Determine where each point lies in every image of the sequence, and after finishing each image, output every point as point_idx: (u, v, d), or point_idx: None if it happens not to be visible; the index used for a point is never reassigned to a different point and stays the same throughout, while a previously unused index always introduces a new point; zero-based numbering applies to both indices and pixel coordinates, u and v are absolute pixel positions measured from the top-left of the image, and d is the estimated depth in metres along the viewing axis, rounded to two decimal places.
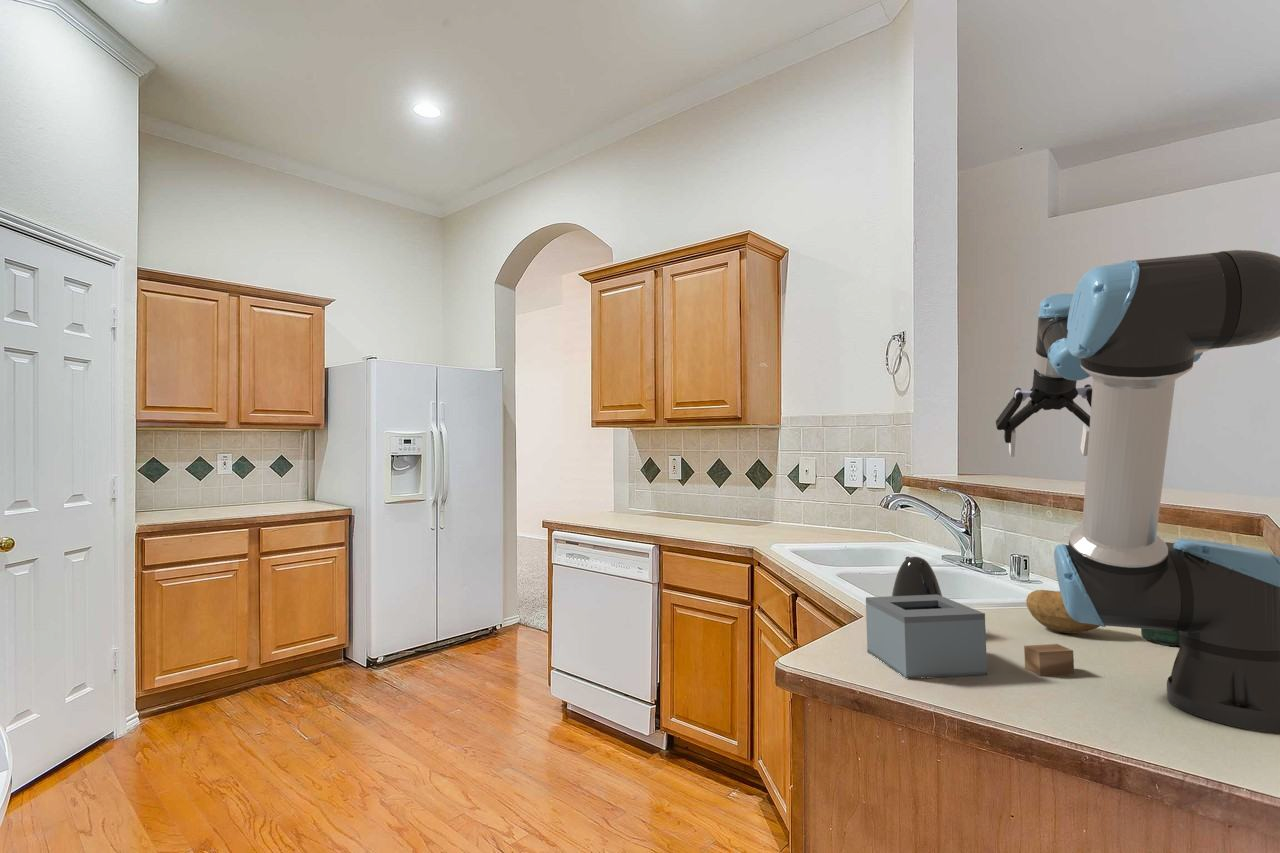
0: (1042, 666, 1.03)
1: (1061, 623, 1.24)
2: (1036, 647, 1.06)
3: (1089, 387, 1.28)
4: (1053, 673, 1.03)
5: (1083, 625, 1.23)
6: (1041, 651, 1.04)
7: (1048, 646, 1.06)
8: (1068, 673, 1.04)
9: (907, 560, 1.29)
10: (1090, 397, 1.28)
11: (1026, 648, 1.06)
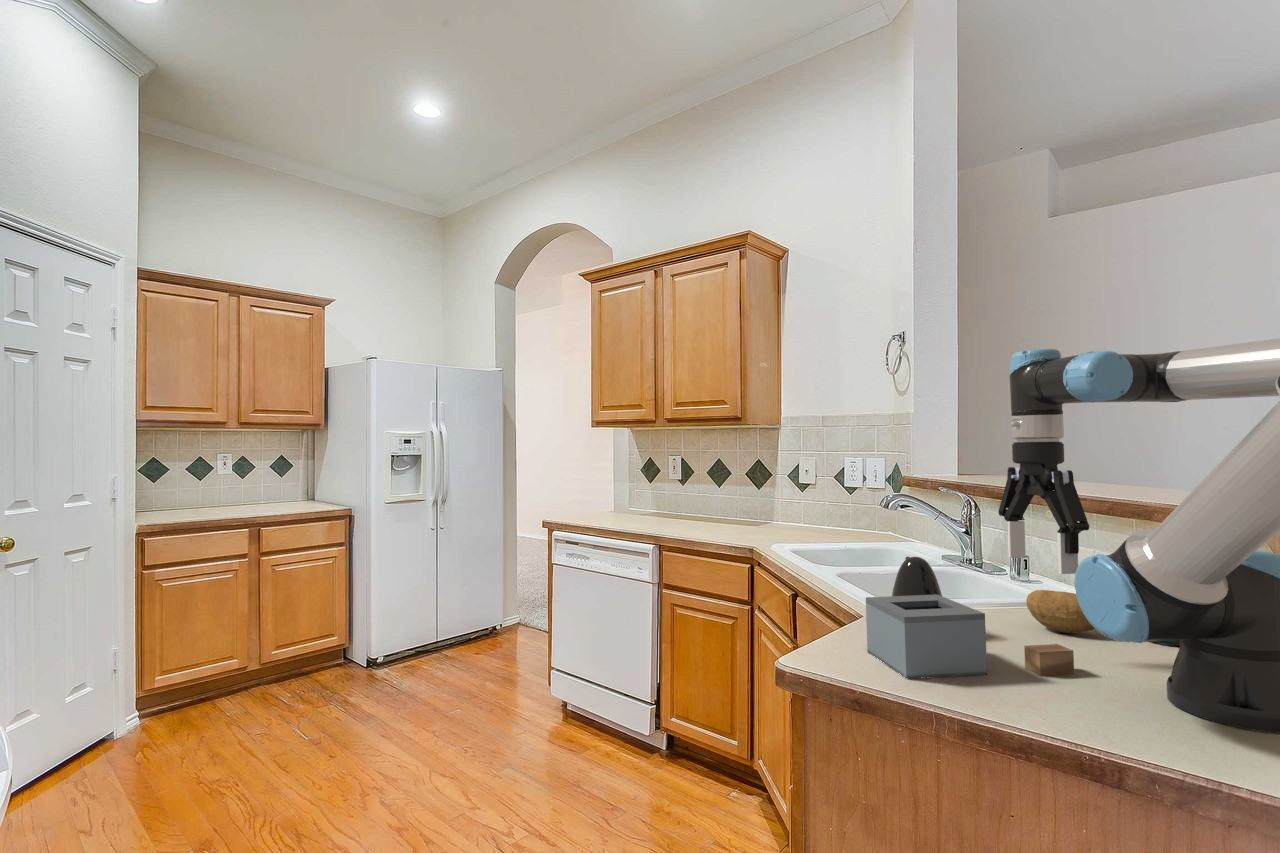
0: (1042, 666, 1.03)
1: (1061, 623, 1.24)
2: (1036, 647, 1.06)
3: (1017, 467, 1.14)
4: (1053, 673, 1.03)
5: (1083, 625, 1.23)
6: (1041, 651, 1.04)
7: (1048, 646, 1.06)
8: (1068, 673, 1.04)
9: (907, 560, 1.29)
10: None
11: (1026, 648, 1.06)
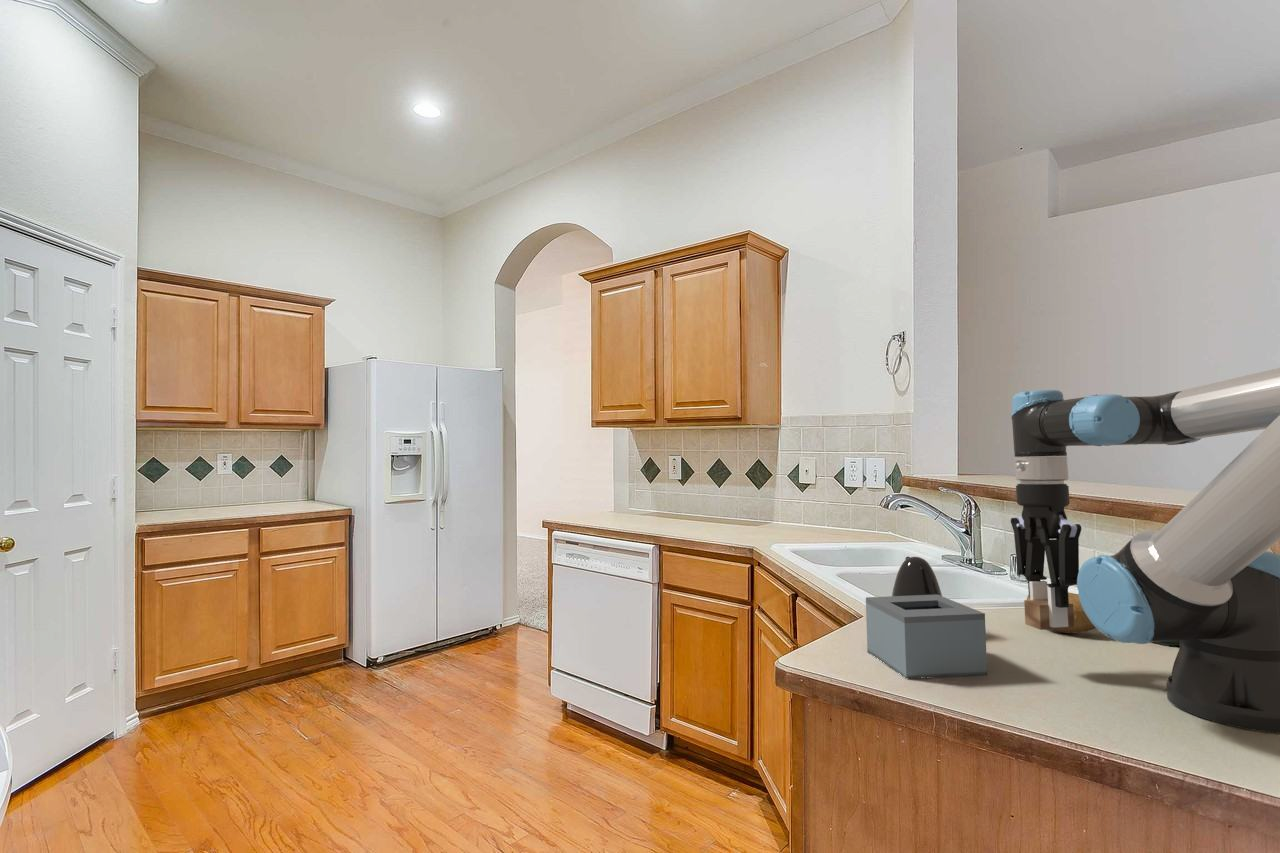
0: (1042, 619, 1.03)
1: None
2: (1036, 601, 1.05)
3: None
4: None
5: (1083, 625, 1.23)
6: (1041, 604, 1.03)
7: None
8: (1068, 626, 1.03)
9: (907, 560, 1.29)
10: None
11: (1026, 602, 1.06)
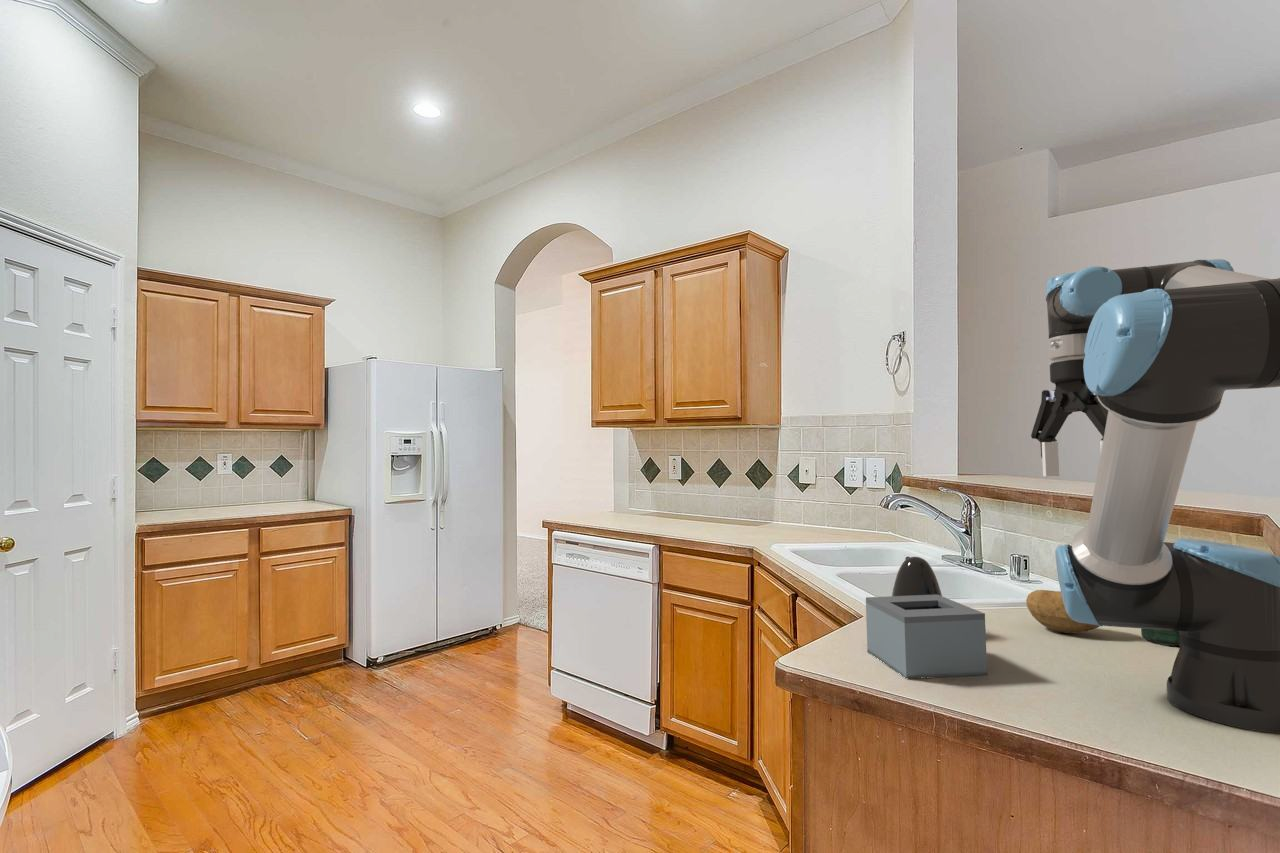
0: None
1: (1061, 623, 1.24)
2: None
3: (1050, 390, 1.20)
4: None
5: (1083, 625, 1.23)
6: None
7: None
8: None
9: (907, 560, 1.29)
10: None
11: None
